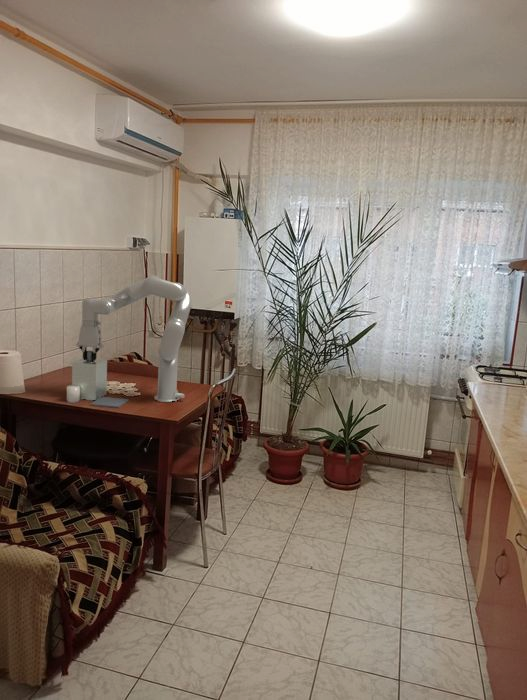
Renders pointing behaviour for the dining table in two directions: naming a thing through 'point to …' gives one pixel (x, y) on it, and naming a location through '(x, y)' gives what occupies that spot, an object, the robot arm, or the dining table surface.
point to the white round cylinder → (73, 393)
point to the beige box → (90, 377)
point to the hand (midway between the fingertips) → (89, 359)
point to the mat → (109, 402)
